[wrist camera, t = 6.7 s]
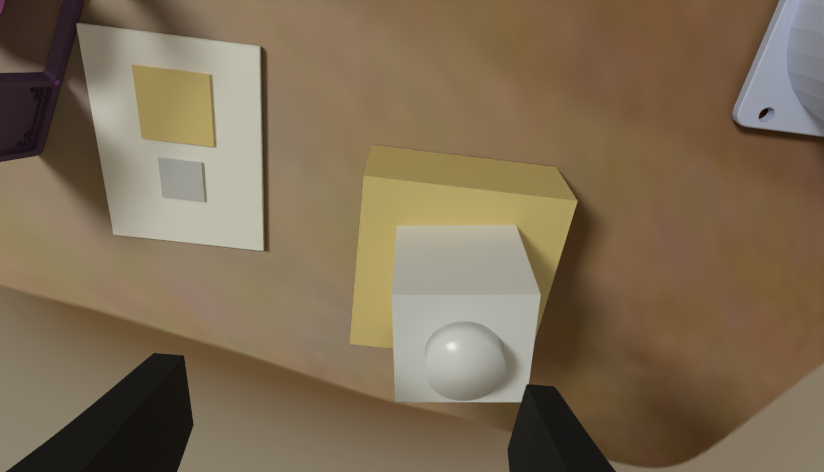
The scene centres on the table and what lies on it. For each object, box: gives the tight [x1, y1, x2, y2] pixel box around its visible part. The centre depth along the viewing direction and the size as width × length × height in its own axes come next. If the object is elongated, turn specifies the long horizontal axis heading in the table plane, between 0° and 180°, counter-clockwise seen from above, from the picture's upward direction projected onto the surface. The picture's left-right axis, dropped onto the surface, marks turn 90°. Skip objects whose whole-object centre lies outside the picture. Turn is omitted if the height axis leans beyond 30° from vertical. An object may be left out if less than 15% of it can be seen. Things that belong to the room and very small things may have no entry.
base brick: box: [350, 145, 577, 348], centre depth 20 cm, size 7×7×3 cm
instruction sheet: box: [76, 23, 264, 251], centre depth 19 cm, size 6×8×1 cm
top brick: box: [392, 225, 541, 402], centre depth 16 cm, size 4×4×5 cm
